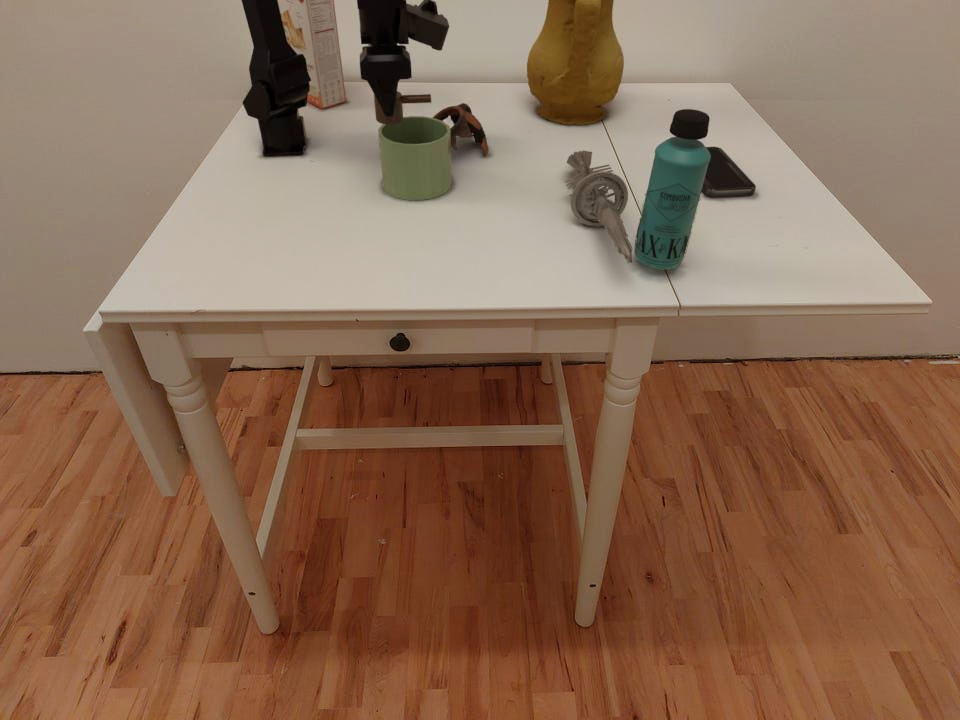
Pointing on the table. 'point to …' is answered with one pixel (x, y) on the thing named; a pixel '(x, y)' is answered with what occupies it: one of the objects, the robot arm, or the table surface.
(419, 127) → the green round container
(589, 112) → the pitcher
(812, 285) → the table surface
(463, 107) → the gnarled wooden root
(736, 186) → the phone
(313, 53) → the cracker box
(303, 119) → the robot arm
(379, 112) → the scoop
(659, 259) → the beverage bottle
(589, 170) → the spaceship
